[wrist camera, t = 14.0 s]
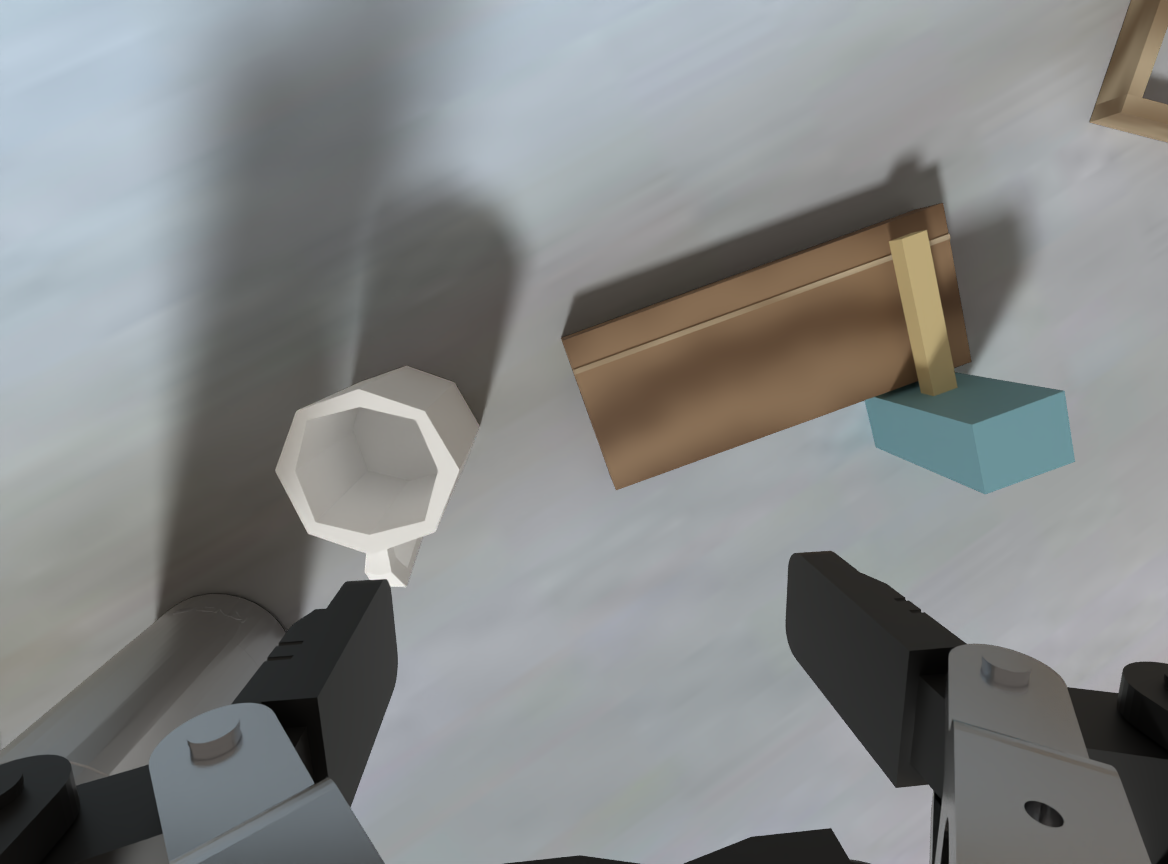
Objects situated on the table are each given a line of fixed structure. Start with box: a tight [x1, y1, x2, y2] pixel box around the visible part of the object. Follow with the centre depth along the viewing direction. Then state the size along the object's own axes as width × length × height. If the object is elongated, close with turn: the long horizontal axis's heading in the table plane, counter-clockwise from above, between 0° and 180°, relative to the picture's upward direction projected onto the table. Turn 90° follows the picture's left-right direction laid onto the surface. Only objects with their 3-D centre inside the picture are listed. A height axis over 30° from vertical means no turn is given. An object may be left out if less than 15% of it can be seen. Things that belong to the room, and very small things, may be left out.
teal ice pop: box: [865, 230, 1075, 494], centre depth 33 cm, size 14×5×10 cm, turn 20°
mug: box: [275, 366, 480, 587], centre depth 32 cm, size 12×9×10 cm
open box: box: [561, 203, 972, 490], centre depth 36 cm, size 10×24×3 cm, turn 109°
